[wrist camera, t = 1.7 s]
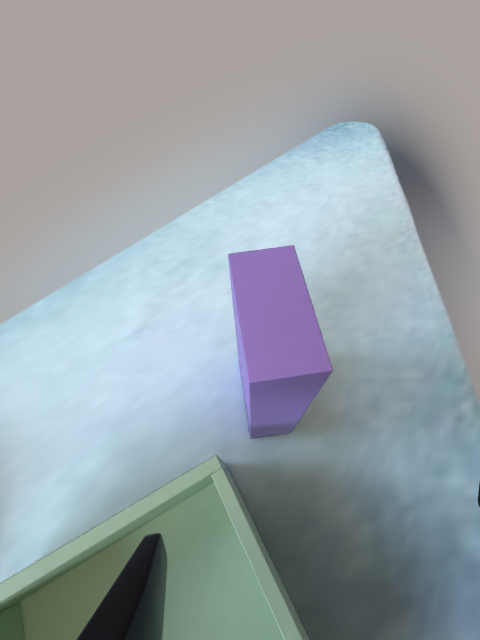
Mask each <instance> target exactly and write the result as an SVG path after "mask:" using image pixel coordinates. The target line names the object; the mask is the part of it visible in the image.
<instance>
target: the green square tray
mask: <svg viewBox="0 0 480 640" xmlns="http://www.w3.org/2000/svg"><path fill="white" fill-rule="evenodd" d="M153 533H161V535H162V538H163V541H164V545H165V549H166V553H167V578H166V593H165V607H164V622H163V634H162V640H309V637H308V635H307V633H306V631H305V629H304V627H303V625H302V623H301V621H300V619H299V617H298V614H297V612H296V610H295V608H294V606H293V604H292V602H291V600H290V598H289V596H288V593H287V591H286V589H285V587H284V585H283V583H282V581H281V579H280V577H279V575H278V573H277V570H276V568H275V566H274V564H273V562H272V560H271V558H270V556H269V554H268V552H267V549H266V547H265V545H264V543H263V541H262V539H261V537H260V535H259V533H258V531H257V528H256V526H255V524H254V522H253V520H252V518H251V516H250V514H249V512H248V510H247V508H246V505H245V503H244V501H243V499H242V497H241V495H240V493H239V491H238V489H237V487H236V484H235V482H234V480H233V478H232V476H231V474H230V472H229V470H228V468H227V466H226V464H225V463H224V462H223V461H222V460H221V459H220V458H219V457H218V456H217V455H215V456H213V457H212V458H210V459H208V460H206V461H205V462H203V463H201V464H200V465H198V466H196V467H195V468H193V469H191V470H190V471H188V472H186V473H185V474H183V475H181V476H180V477H178V478H176V479H175V480H173V481H171V482H170V483H168V484H166V485H164V486H163V487H161V488H159V489H158V490H156V491H154V492H153V493H151V494H149V495H148V496H146V497H144V498H143V499H141V500H139V501H138V502H136V503H134V504H133V505H131V506H129V507H128V508H126V509H124V510H123V511H121V512H119V513H117V514H116V515H114V516H112V517H111V518H109V519H107V520H106V521H104V522H102V523H101V524H99V525H97V526H96V527H94V528H92V529H91V530H89V531H87V532H86V533H84V534H82V535H81V536H79V537H77V538H75V539H74V540H72V541H70V542H69V543H67V544H65V545H64V546H62V547H60V548H59V549H57V550H55V551H54V552H52V553H50V554H49V555H47V556H45V557H44V558H42V559H40V560H39V561H37V562H35V563H33V564H32V565H30V566H28V567H27V568H25V569H23V570H22V571H20V572H18V573H17V574H15V575H13V576H12V577H10V578H8V579H7V580H5V581H3V582H2V583H0V640H76V639H77V638H78V636H79V635H80V633H81V632H82V630H83V629H84V627H85V626H86V624H87V623H88V621H89V620H90V618H91V617H92V615H93V614H94V612H95V611H96V609H97V607H98V606H99V604H100V603H101V601H102V600H103V598H104V597H105V595H106V594H107V592H108V591H109V589H110V588H111V586H112V585H113V583H114V582H115V580H116V579H117V577H118V576H119V574H120V573H121V571H122V569H123V568H124V566H125V565H126V563H127V562H128V560H129V559H130V557H131V556H132V554H133V553H134V551H135V550H136V548H137V547H138V545H139V544H140V542H141V541H142V539H143V538H144V537H145V536H146V535H148V534H153Z"/></svg>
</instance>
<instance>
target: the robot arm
mask: <svg viewBox="0 0 480 640" xmlns="http://www.w3.org/2000/svg"><path fill="white" fill-rule="evenodd" d="M478 504H479V507H480V484H479V493H478ZM166 578H167V553H166V549H165V545H164V541H163V538H162V535H161V533H153V534H148V535H146V536H145V537H144V538H143V539H142V541H141V542H140V544H139V545H138V547H137V548H136V550H135V551H134V553H133V554H132V556H131V557H130V559H129V560H128V562H127V563H126V565H125V566H124V568H123V569H122V571H121V573H120V574H119V576H118V577H117V579H116V580H115V582H114V583H113V585H112V586H111V588H110V589H109V591H108V592H107V594H106V595H105V597H104V598H103V600H102V601H101V603H100V604H99V606H98V607H97V609H96V611H95V612H94V614H93V615H92V617H91V618H90V620H89V621H88V623H87V624H86V626H85V627H84V629H83V630H82V632H81V633H80V635H79V636H78V638H77V639H76V640H162V634H163V622H164V607H165V593H166Z"/></svg>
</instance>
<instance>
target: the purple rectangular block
mask: <svg viewBox="0 0 480 640" xmlns="http://www.w3.org/2000/svg"><path fill="white" fill-rule="evenodd" d="M228 259H229V269H230V279H231V289H232V298H233V308H234V318H235V328H236V337H237V347H238V357H239V365H240V372H241V379H242V385H243V392H244V399H245V405H246V412H247V419H248V425H249V432H250V438H251V439H252V438H258V437H264V436H271V435H277V434H283V433H290V432H291V431H292V430H293V428H294V427H295V426H296V424H297V423H298V421H299V420H300V418H301V417H302V415H303V414H304V412H305V411H306V409H307V408H308V406H309V405H310V403H311V402H312V400H313V399H314V397H315V396H316V394H317V393H318V391H319V390H320V389H321V387H322V386H323V384H324V383H325V381H326V380H327V378H328V377H329V375H330V374H331V372H332V371H333V369H332V366H331V363H330V360H329V357H328V353H327V350H326V347H325V344H324V340H323V337H322V334H321V331H320V328H319V324H318V321H317V318H316V315H315V312H314V308H313V305H312V302H311V299H310V296H309V292H308V289H307V286H306V283H305V279H304V276H303V273H302V270H301V267H300V263H299V260H298V257H297V254H296V251H295V247H294V245H292V246H285V247H277V248H269V249H262V250H254V251H247V252H239V253H232V254H228Z"/></svg>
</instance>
